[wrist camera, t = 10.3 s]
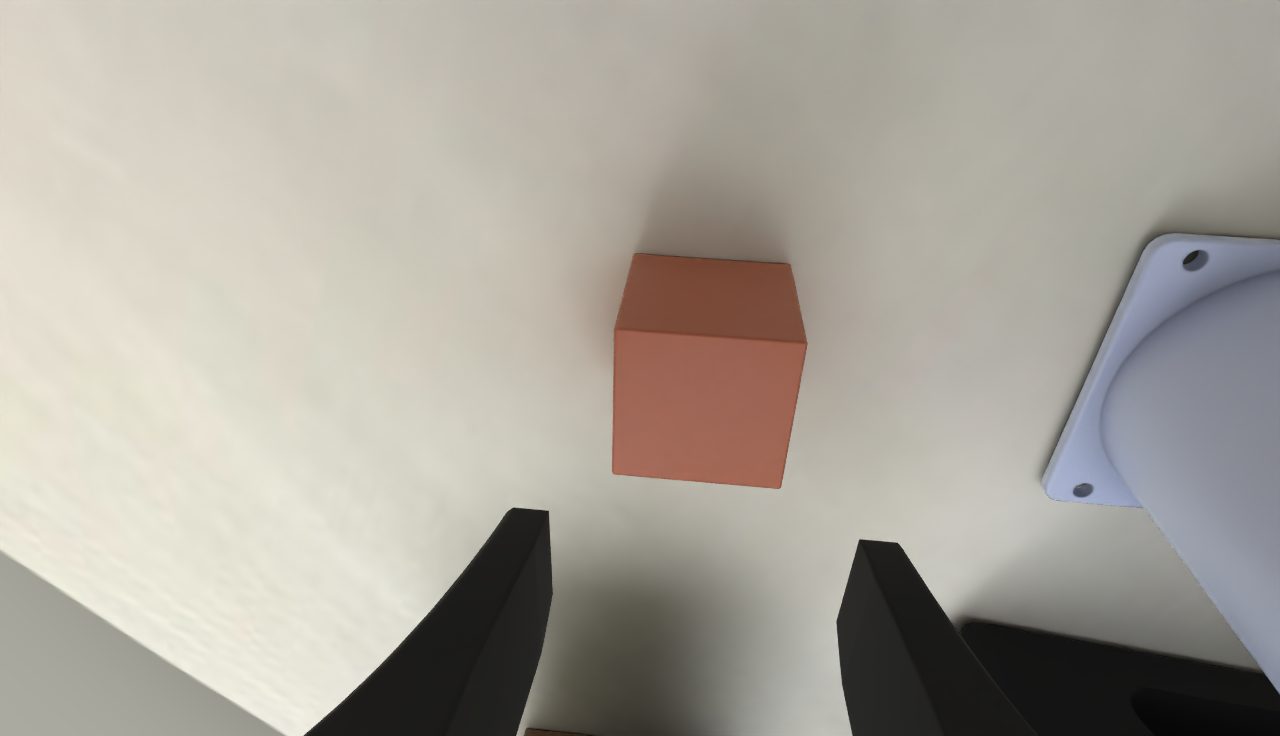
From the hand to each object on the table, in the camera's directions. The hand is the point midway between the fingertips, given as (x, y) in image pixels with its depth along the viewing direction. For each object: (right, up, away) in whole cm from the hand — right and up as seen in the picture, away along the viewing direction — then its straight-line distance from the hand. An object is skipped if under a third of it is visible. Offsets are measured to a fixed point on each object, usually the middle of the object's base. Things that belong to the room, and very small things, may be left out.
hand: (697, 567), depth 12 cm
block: (+1, +4, +7) cm, 8 cm away
